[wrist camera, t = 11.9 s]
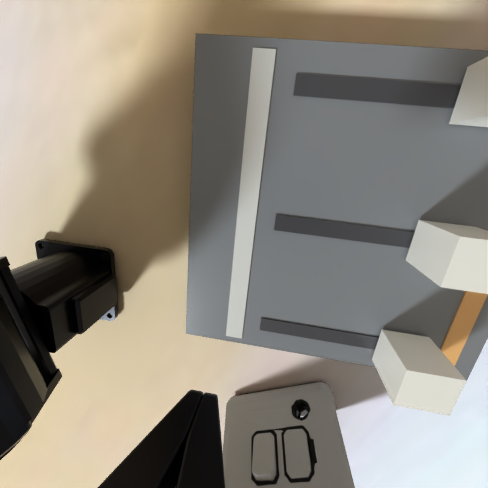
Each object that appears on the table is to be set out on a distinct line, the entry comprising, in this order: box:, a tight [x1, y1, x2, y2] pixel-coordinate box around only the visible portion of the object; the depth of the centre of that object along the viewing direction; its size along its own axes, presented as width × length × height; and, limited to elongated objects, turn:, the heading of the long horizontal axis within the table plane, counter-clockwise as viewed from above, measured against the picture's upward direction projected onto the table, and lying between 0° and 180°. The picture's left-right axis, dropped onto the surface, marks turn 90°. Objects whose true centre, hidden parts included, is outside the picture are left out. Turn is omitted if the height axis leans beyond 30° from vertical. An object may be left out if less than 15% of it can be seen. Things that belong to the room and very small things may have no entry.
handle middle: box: [406, 220, 488, 294], centre depth 13 cm, size 3×2×4 cm
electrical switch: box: [223, 382, 355, 488], centre depth 19 cm, size 9×5×9 cm, turn 111°
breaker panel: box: [186, 33, 488, 380], centre depth 16 cm, size 20×19×2 cm
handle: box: [372, 330, 467, 415], centre depth 15 cm, size 3×2×4 cm
